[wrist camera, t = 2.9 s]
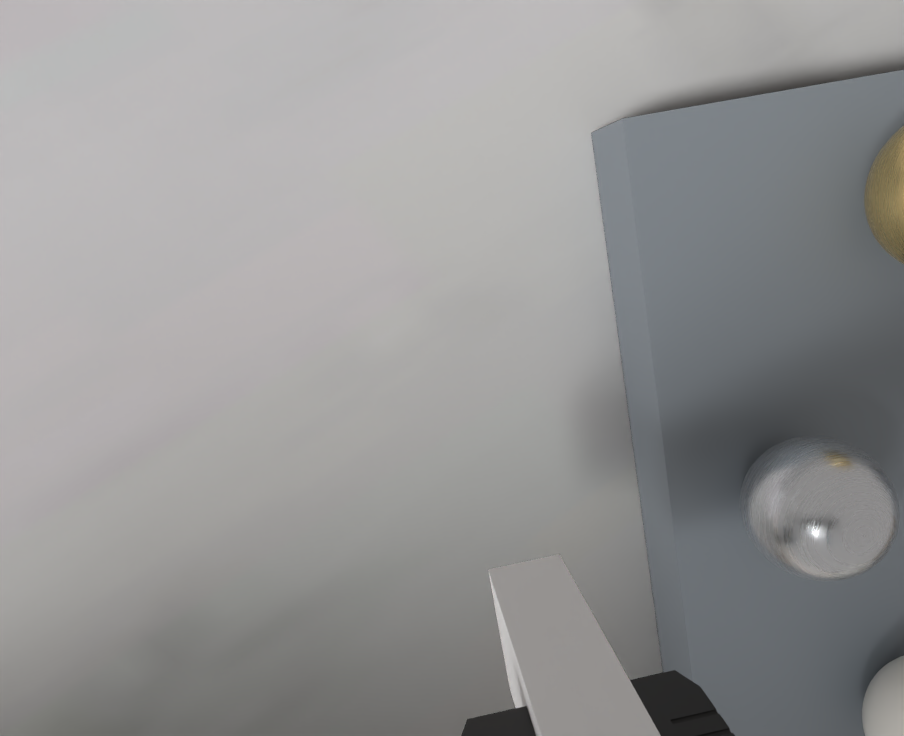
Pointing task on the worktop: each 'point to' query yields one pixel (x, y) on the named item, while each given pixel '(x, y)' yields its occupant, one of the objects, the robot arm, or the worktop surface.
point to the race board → (757, 380)
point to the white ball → (885, 701)
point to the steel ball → (820, 508)
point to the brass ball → (887, 196)
